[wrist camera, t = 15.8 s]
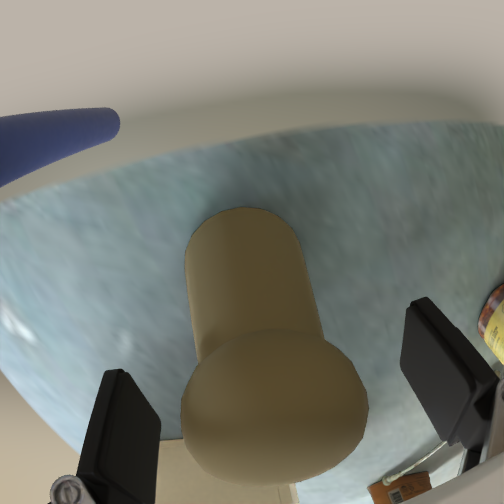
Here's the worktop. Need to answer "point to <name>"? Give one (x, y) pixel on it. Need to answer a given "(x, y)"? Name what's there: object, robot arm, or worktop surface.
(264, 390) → the cork
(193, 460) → the cream open box
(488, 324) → the sauce bottle
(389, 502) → the pancake mix bag
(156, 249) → the worktop surface
